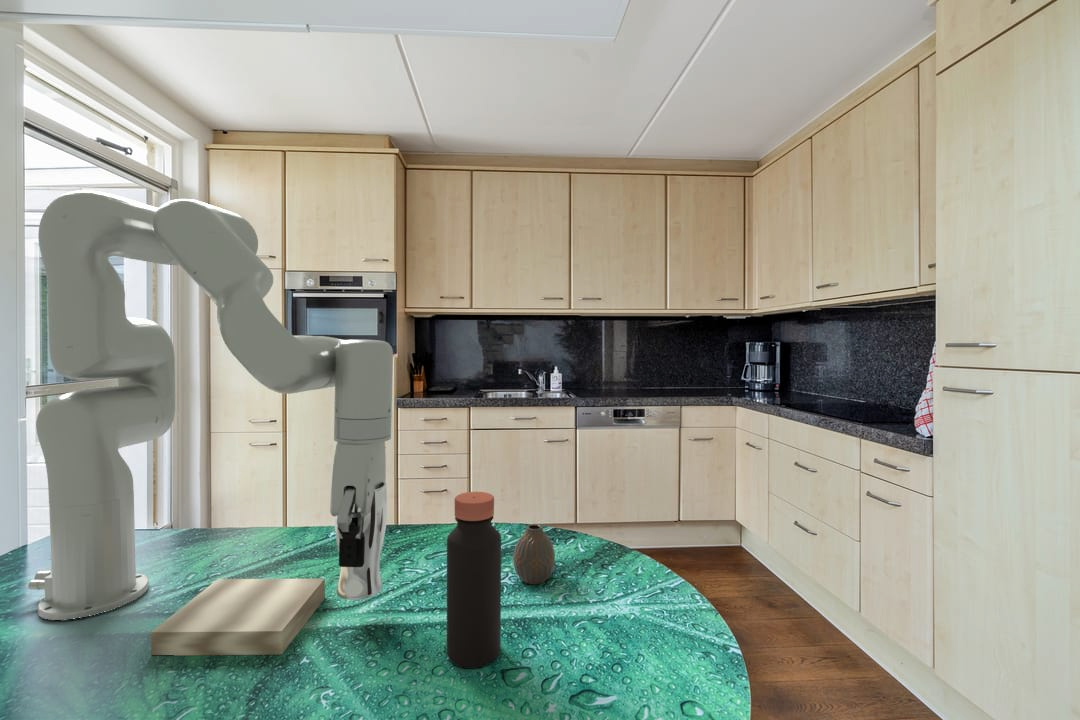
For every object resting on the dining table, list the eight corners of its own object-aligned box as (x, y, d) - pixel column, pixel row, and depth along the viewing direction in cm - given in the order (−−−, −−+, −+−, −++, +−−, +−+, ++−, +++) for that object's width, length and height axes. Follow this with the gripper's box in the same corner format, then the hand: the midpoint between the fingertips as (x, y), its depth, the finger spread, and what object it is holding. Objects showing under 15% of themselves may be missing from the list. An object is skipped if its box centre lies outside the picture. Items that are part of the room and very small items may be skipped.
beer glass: (369, 605, 69) (371, 494, 68) (322, 598, 70) (324, 489, 69) (394, 581, 75) (396, 480, 75) (351, 575, 77) (353, 476, 76)
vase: (506, 583, 84) (506, 530, 83) (523, 566, 90) (523, 517, 90) (545, 592, 81) (546, 537, 81) (560, 573, 87) (561, 522, 87)
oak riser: (151, 655, 64) (150, 632, 64) (218, 598, 78) (217, 579, 78) (281, 654, 65) (281, 631, 64) (324, 597, 79) (324, 578, 78)
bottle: (486, 675, 61) (486, 509, 60) (436, 662, 63) (436, 502, 62) (509, 643, 67) (510, 492, 66) (463, 632, 70) (463, 486, 69)
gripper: (356, 417, 80) (353, 530, 81) (309, 440, 63) (307, 583, 64) (404, 419, 80) (401, 531, 81) (371, 442, 63) (368, 585, 64)
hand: (360, 553), depth 72 cm, fingers closed on beer glass, 6 cm apart
